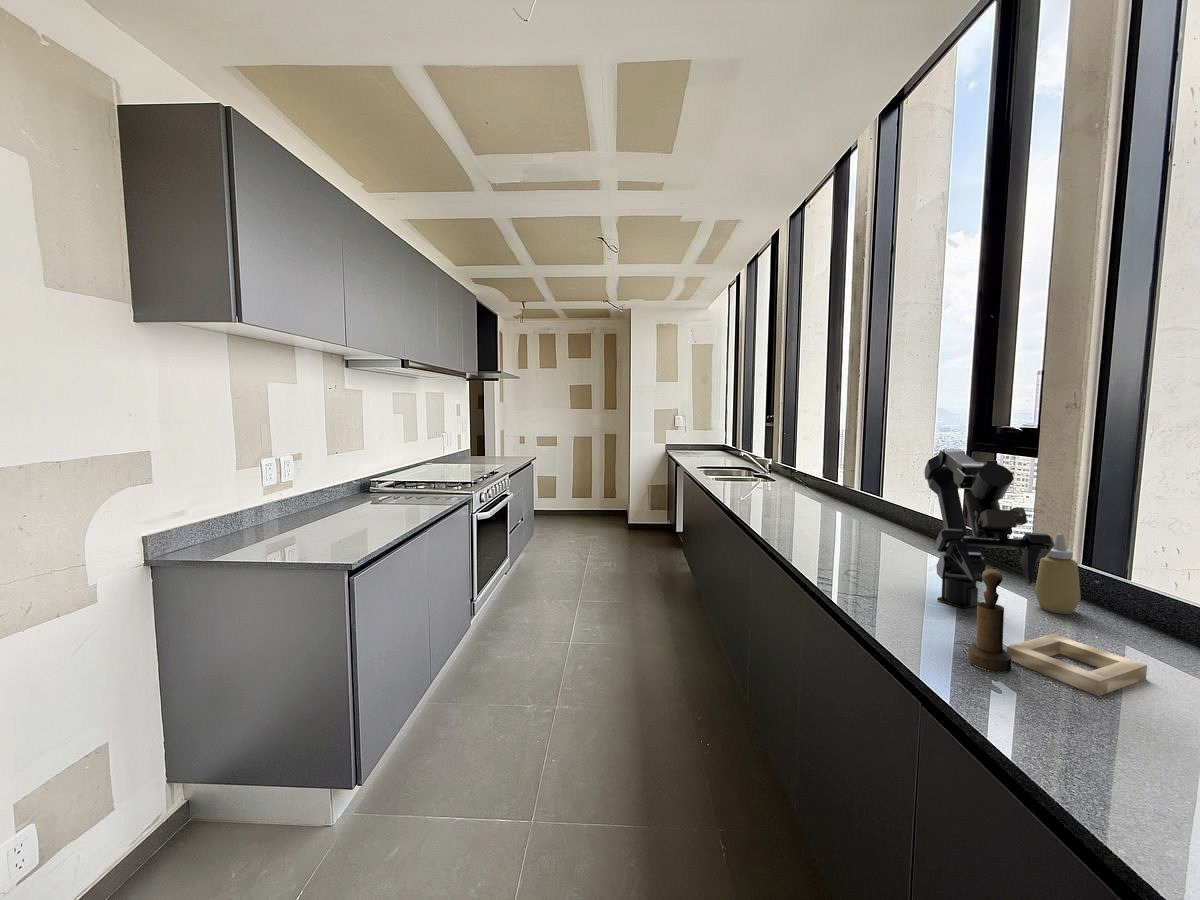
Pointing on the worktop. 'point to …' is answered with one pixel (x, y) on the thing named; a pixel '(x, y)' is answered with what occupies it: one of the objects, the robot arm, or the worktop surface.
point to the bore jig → (1098, 682)
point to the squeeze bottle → (1058, 579)
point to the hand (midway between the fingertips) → (1001, 581)
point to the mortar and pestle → (990, 629)
